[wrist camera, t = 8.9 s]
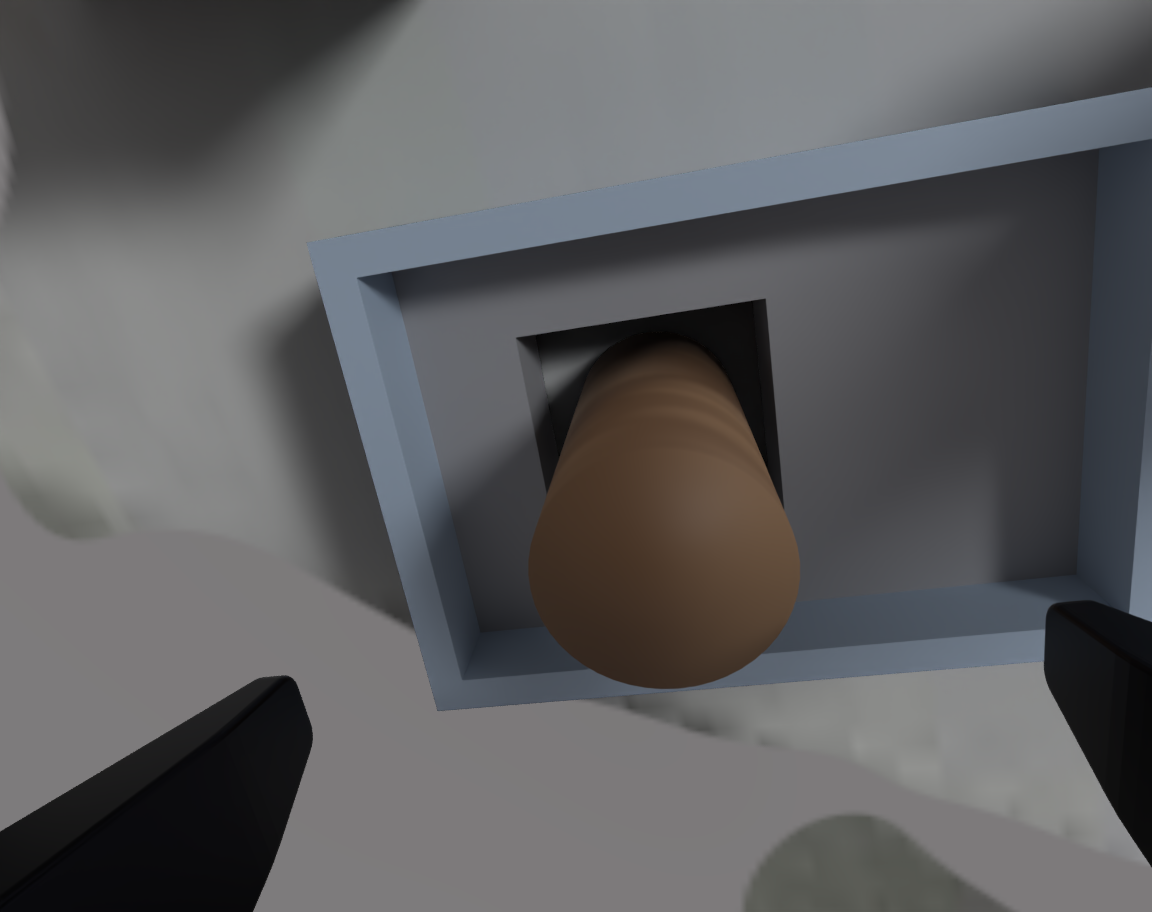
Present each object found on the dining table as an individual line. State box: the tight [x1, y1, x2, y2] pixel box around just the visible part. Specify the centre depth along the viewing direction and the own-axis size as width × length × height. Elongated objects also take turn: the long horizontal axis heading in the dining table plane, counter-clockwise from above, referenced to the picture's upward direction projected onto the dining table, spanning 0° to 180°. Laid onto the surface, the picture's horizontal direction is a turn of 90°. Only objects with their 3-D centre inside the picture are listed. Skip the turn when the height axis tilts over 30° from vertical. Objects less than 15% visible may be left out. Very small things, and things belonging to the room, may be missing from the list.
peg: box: [528, 331, 800, 689], centre depth 15 cm, size 4×4×9 cm
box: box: [307, 87, 1152, 711], centre depth 17 cm, size 16×11×4 cm
